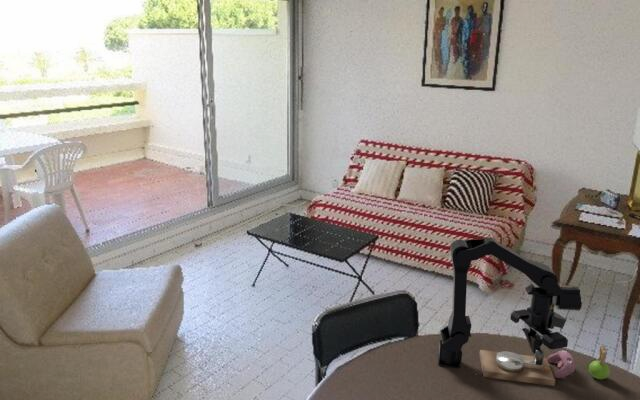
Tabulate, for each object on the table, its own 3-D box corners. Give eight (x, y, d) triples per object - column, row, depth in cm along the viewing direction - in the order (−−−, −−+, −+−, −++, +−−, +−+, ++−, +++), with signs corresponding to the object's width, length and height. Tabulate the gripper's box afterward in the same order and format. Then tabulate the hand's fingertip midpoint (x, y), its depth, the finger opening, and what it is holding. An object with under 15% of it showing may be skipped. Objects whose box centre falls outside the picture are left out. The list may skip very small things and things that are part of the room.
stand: (483, 376, 151) (484, 369, 151) (479, 355, 163) (480, 348, 162) (554, 386, 148) (555, 378, 147) (544, 363, 159) (545, 356, 158)
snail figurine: (589, 382, 150) (595, 346, 147) (586, 370, 156) (593, 336, 153) (609, 386, 148) (616, 350, 145) (606, 374, 154) (613, 339, 151)
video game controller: (566, 384, 151) (580, 367, 149) (552, 377, 151) (566, 359, 149) (557, 366, 160) (571, 350, 158) (545, 359, 161) (558, 342, 159)
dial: (497, 369, 151) (499, 351, 150) (494, 355, 159) (496, 337, 157) (544, 376, 148) (547, 357, 147) (539, 361, 156) (541, 343, 154)
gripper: (586, 318, 144) (579, 365, 148) (541, 290, 161) (535, 333, 165) (554, 324, 141) (547, 372, 145) (512, 294, 158) (506, 338, 162)
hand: (534, 353), depth 154 cm, fingers closed
